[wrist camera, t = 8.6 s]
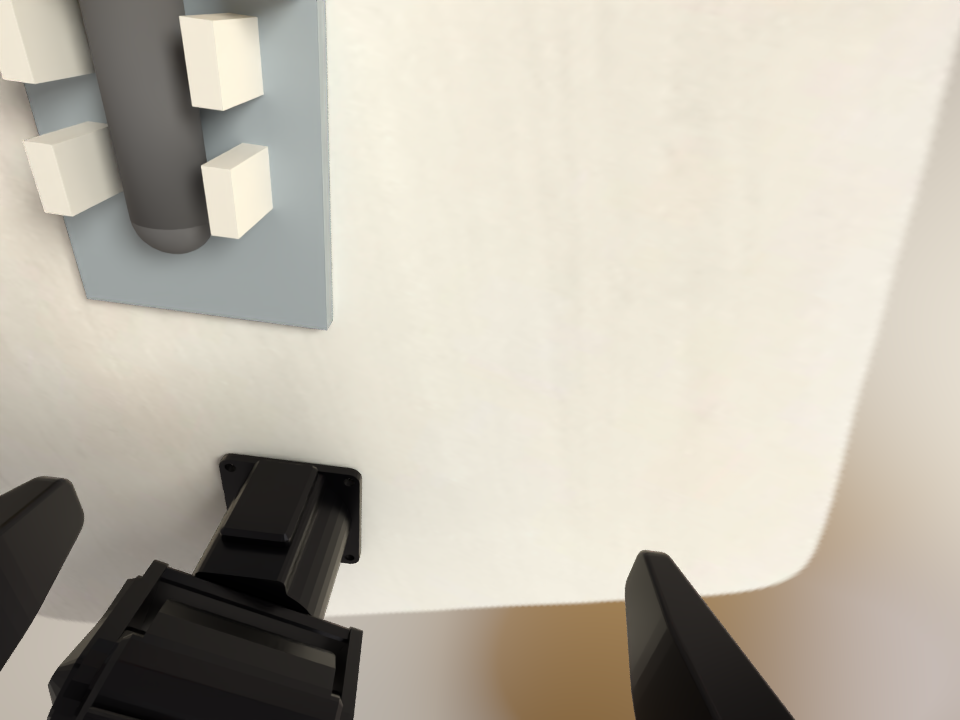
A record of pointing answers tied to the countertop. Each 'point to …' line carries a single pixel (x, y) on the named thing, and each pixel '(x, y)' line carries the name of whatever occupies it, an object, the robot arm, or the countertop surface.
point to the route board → (226, 176)
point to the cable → (151, 118)
